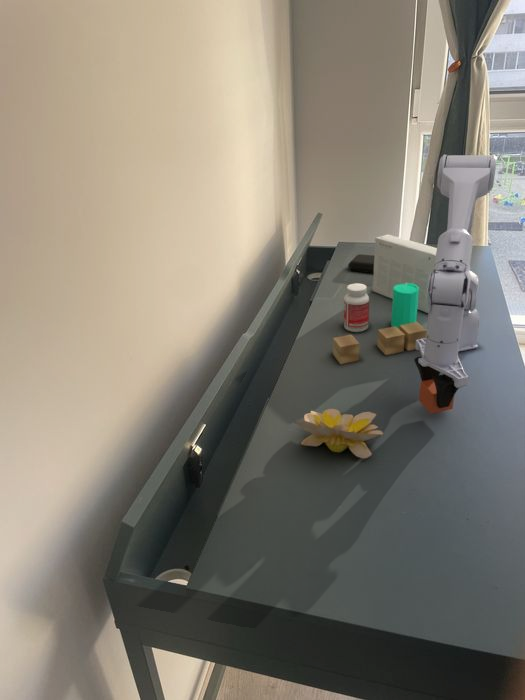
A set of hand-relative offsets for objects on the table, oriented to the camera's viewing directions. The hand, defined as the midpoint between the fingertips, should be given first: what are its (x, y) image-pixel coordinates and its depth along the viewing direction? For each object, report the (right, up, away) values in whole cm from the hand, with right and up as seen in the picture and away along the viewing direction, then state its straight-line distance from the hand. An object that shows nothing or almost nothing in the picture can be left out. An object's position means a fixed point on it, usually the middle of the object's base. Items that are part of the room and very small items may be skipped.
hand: (436, 398), depth 100 cm
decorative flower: (-18, -8, -4) cm, 21 cm away
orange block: (0, -1, +1) cm, 1 cm away
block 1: (-14, +7, +21) cm, 26 cm away
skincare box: (+7, +23, +46) cm, 52 cm away
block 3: (+2, +10, +24) cm, 27 cm away
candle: (+2, +15, +33) cm, 36 cm away
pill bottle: (-9, +15, +34) cm, 38 cm away
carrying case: (+3, +35, +67) cm, 76 cm away
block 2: (-3, +9, +23) cm, 25 cm away
